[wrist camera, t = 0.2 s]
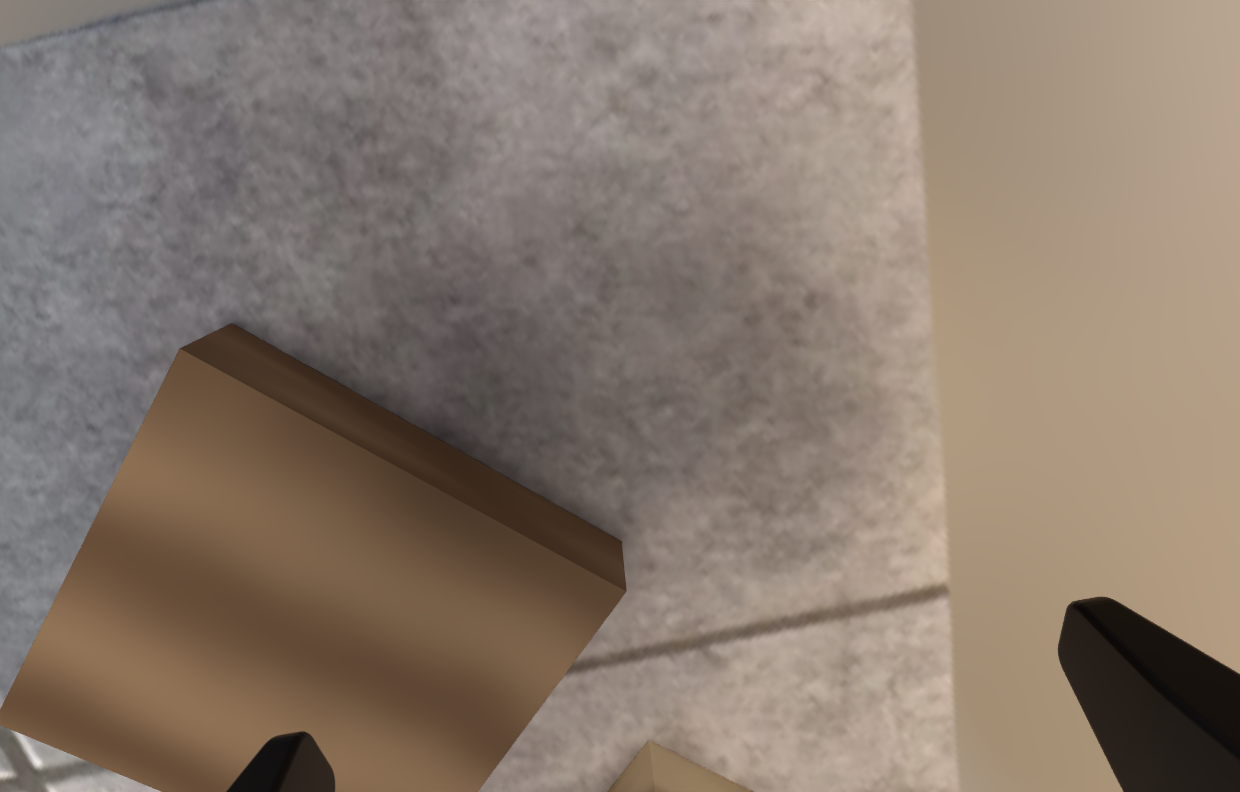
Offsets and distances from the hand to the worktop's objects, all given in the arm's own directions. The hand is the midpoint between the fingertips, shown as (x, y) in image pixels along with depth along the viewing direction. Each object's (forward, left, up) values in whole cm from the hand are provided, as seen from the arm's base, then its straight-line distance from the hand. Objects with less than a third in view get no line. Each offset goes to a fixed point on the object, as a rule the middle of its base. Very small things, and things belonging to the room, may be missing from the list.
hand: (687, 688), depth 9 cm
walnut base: (-13, +3, -15) cm, 20 cm away
